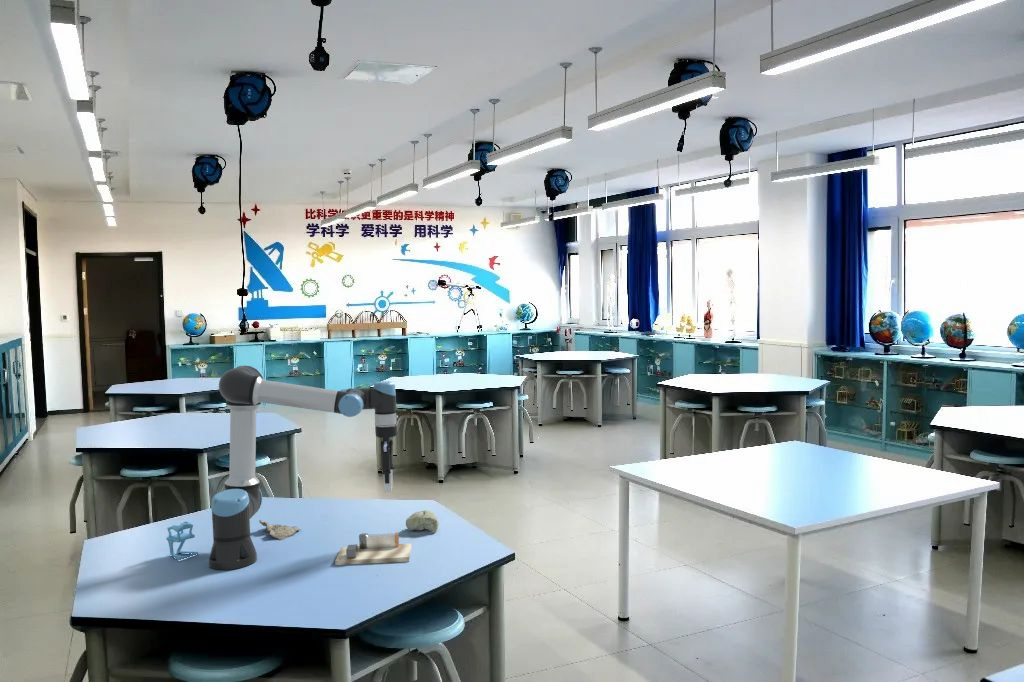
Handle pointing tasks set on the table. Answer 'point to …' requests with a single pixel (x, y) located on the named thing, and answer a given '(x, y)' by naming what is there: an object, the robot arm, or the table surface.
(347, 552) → the block
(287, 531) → the dried leaf
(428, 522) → the seashell
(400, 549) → the plate
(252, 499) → the robot arm
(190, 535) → the chair
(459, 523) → the table surface
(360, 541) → the bar
